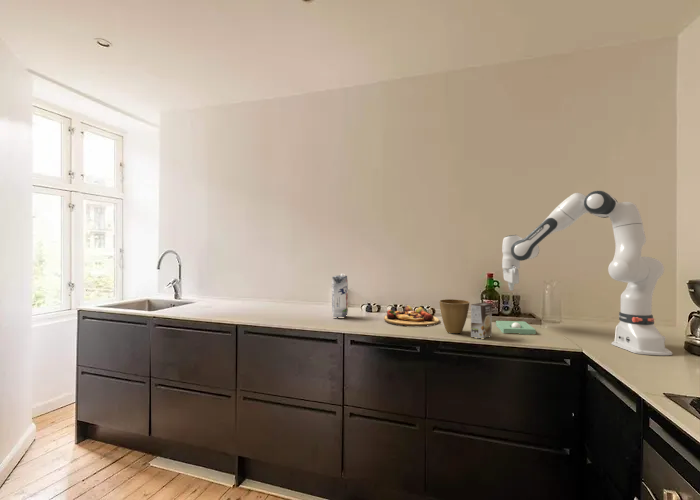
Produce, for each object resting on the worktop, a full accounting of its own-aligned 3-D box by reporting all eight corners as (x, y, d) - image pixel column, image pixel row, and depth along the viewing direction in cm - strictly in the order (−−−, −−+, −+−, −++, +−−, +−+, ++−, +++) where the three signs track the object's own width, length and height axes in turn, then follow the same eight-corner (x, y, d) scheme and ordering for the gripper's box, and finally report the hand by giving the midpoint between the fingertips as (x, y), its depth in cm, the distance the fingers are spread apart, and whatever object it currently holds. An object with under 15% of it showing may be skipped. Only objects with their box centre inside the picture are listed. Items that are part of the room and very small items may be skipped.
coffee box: (483, 340, 182) (483, 305, 182) (470, 337, 187) (470, 304, 187) (492, 336, 189) (492, 303, 188) (479, 334, 193) (479, 302, 193)
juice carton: (331, 318, 236) (330, 274, 235) (334, 315, 246) (334, 273, 246) (345, 319, 234) (345, 274, 234) (348, 316, 245) (348, 273, 244)
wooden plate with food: (385, 327, 212) (385, 312, 212) (383, 315, 244) (383, 302, 244) (444, 328, 211) (444, 313, 211) (434, 317, 243) (434, 303, 242)
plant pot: (437, 334, 193) (437, 302, 193) (441, 328, 207) (441, 298, 207) (468, 336, 188) (468, 304, 188) (470, 330, 202) (470, 299, 202)
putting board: (535, 334, 192) (535, 329, 192) (503, 333, 195) (503, 328, 195) (524, 326, 212) (524, 321, 212) (495, 325, 214) (495, 320, 214)
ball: (521, 322, 196) (519, 322, 201) (512, 321, 197) (510, 322, 201) (521, 331, 196) (519, 331, 200) (512, 330, 196) (510, 330, 201)
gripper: (522, 266, 199) (522, 292, 199) (512, 264, 220) (512, 288, 220) (509, 266, 200) (509, 292, 201) (501, 264, 221) (501, 288, 221)
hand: (511, 290), depth 210 cm, fingers closed
